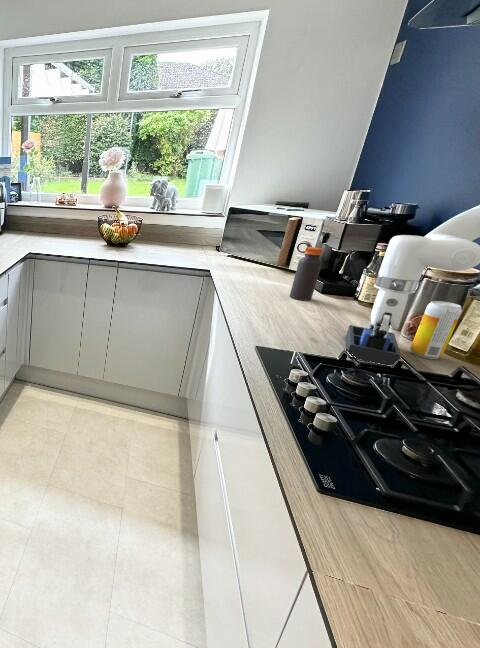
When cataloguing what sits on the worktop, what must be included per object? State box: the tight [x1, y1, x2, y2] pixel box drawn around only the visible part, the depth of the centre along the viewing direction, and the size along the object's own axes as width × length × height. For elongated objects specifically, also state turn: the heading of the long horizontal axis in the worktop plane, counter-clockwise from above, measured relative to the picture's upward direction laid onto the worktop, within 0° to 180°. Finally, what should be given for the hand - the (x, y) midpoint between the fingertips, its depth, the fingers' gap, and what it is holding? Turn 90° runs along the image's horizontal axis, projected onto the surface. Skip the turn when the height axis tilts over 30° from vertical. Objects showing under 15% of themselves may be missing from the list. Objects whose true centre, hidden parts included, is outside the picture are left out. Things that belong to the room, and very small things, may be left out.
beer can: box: [409, 300, 463, 360], centre depth 108 cm, size 6×6×15 cm
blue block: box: [358, 327, 391, 351], centre depth 108 cm, size 5×5×5 cm
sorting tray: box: [345, 324, 401, 366], centre depth 112 cm, size 10×18×4 cm, turn 138°
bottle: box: [289, 246, 323, 301], centre depth 154 cm, size 7×7×20 cm
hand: (372, 346), depth 109 cm, fingers closed on blue block, 5 cm apart
